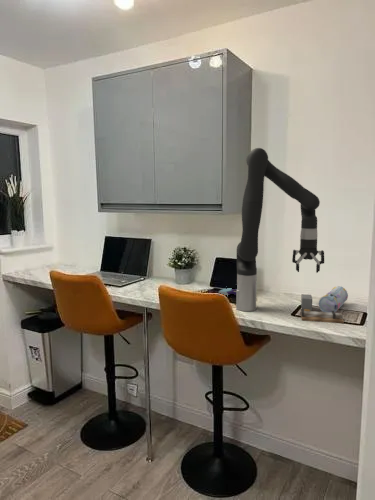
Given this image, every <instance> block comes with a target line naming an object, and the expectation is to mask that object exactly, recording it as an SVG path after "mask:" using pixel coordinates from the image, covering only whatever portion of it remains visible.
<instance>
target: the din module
mask: <svg viewBox="0 0 375 500" xmlns="http://www.w3.org/2000/svg"><path fill="white" fill-rule="evenodd" d="M300 300H301V301H300V307H301V309H303V310H304V311H313V296H312V294H309V293H308V294H304V293H301V298H300Z"/></svg>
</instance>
